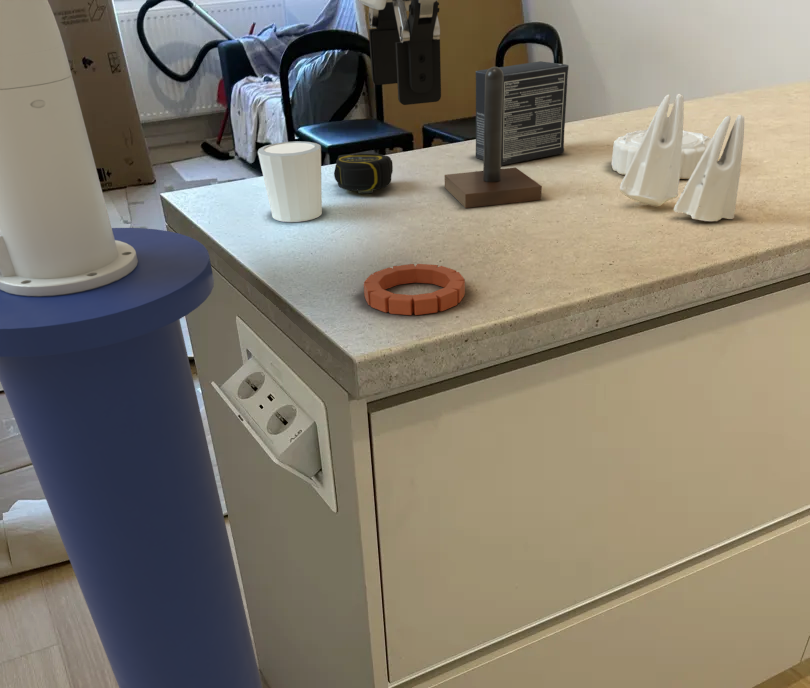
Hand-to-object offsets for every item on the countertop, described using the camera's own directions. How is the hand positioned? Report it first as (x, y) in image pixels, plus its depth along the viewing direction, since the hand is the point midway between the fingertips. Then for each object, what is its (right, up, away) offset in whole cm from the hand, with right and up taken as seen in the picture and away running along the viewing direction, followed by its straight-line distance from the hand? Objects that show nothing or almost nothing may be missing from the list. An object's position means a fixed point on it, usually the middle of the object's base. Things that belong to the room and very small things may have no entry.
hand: (404, 92), depth 64 cm
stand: (+10, +5, +30) cm, 32 cm away
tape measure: (-5, +7, +34) cm, 35 cm away
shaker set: (+29, -1, +22) cm, 36 cm away
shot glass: (-12, +1, +27) cm, 29 cm away
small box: (+15, +16, +44) cm, 49 cm away
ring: (+1, -14, +6) cm, 16 cm away
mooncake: (+32, +10, +36) cm, 49 cm away
